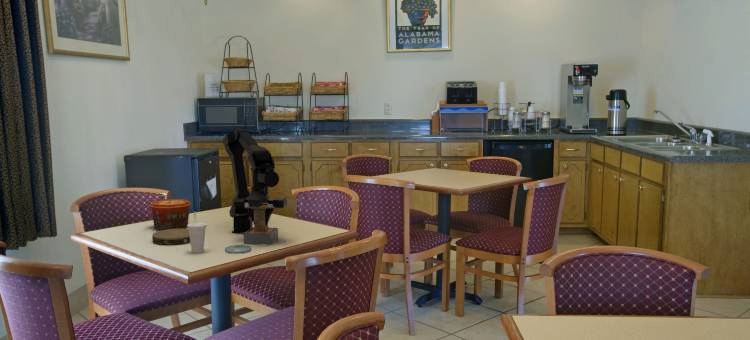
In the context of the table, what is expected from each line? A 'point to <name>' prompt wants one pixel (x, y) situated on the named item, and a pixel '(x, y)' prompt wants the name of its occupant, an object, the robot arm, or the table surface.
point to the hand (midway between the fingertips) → (260, 225)
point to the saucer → (238, 249)
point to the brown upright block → (260, 220)
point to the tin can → (171, 237)
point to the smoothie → (197, 235)
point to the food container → (170, 214)
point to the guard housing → (260, 237)
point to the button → (262, 232)
